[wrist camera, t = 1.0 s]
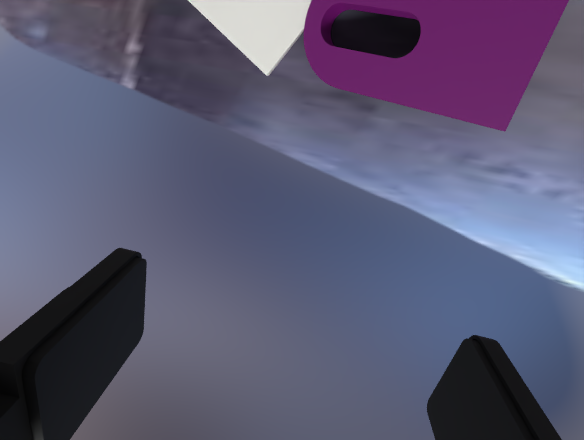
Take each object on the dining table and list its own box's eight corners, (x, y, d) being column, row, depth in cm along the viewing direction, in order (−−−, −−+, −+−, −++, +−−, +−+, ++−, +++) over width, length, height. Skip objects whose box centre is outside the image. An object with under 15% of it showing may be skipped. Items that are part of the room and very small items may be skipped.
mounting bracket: (330, 84, 37) (502, 129, 30) (293, 76, 30) (504, 132, 23) (355, -14, 33) (559, 11, 26) (319, -48, 26) (582, -27, 19)
